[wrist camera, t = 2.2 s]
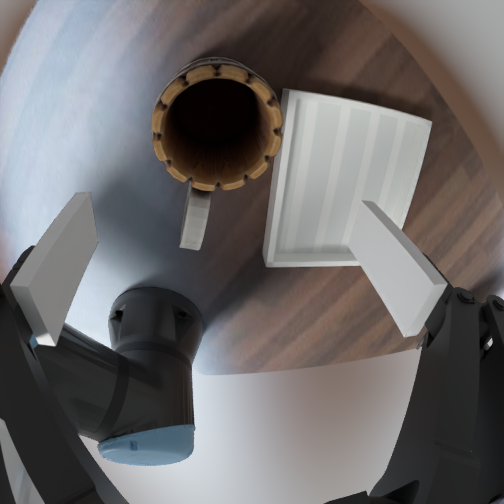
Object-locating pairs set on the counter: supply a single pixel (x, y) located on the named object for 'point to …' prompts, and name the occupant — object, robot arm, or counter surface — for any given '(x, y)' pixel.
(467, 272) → the counter surface
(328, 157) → the white tray
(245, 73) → the mug
